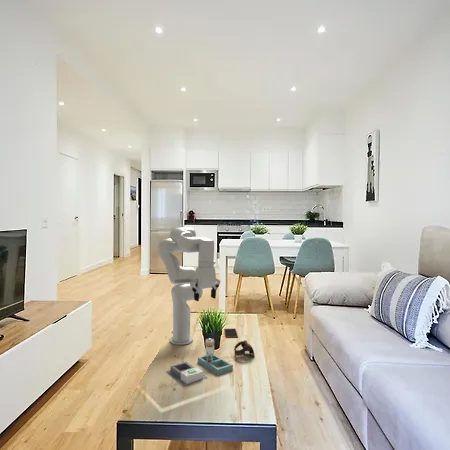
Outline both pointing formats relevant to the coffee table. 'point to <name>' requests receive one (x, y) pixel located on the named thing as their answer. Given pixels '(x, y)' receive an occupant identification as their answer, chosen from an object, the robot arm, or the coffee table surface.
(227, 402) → the coffee table surface
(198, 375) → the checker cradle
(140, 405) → the coffee table surface
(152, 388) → the coffee table surface
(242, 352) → the brown arched frame
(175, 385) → the coffee table surface
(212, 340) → the test cell
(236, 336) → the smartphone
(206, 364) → the teal rectangular open box
